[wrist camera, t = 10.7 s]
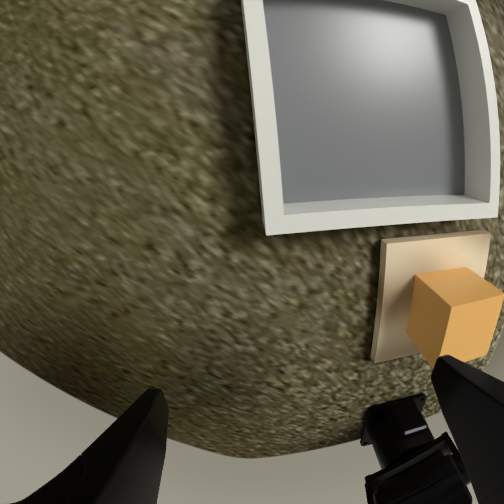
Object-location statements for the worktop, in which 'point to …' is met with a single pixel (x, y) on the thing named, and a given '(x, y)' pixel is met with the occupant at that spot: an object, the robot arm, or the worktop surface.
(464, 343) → the block
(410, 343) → the pad
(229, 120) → the worktop surface
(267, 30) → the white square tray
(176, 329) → the worktop surface
